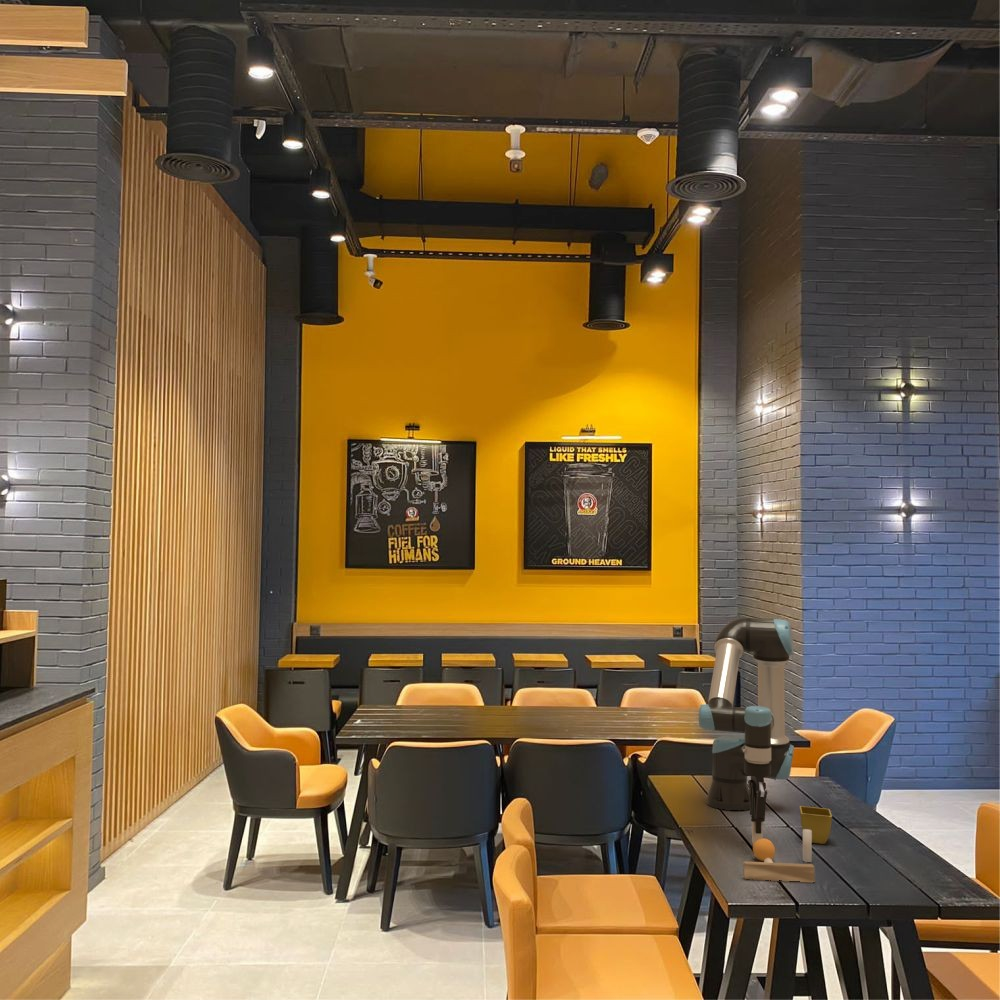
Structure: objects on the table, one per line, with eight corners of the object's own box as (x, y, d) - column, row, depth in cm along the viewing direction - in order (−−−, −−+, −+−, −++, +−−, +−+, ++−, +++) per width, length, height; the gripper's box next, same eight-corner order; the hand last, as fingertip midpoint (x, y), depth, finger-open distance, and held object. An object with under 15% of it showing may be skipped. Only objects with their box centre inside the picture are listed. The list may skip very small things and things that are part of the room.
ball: (756, 852, 248) (753, 865, 251) (778, 853, 247) (775, 866, 251) (752, 833, 253) (749, 846, 256) (774, 834, 252) (771, 847, 256)
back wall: (743, 876, 238) (743, 861, 238) (812, 879, 237) (812, 864, 238) (745, 879, 236) (745, 864, 236) (814, 882, 235) (814, 866, 236)
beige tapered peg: (801, 859, 253) (801, 828, 254) (810, 860, 253) (810, 829, 254) (804, 862, 251) (804, 831, 251) (812, 862, 251) (812, 831, 251)
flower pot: (829, 838, 274) (829, 808, 274) (832, 847, 265) (832, 816, 266) (799, 835, 276) (799, 805, 277) (800, 844, 268) (800, 813, 268)
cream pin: (763, 858, 247) (769, 869, 239) (771, 857, 247) (778, 867, 238) (764, 867, 247) (771, 878, 238) (773, 866, 247) (780, 877, 238)
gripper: (739, 755, 269) (739, 836, 267) (749, 765, 256) (749, 850, 254) (765, 756, 269) (764, 837, 267) (776, 766, 256) (776, 851, 254)
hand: (757, 843), depth 261 cm, fingers closed
